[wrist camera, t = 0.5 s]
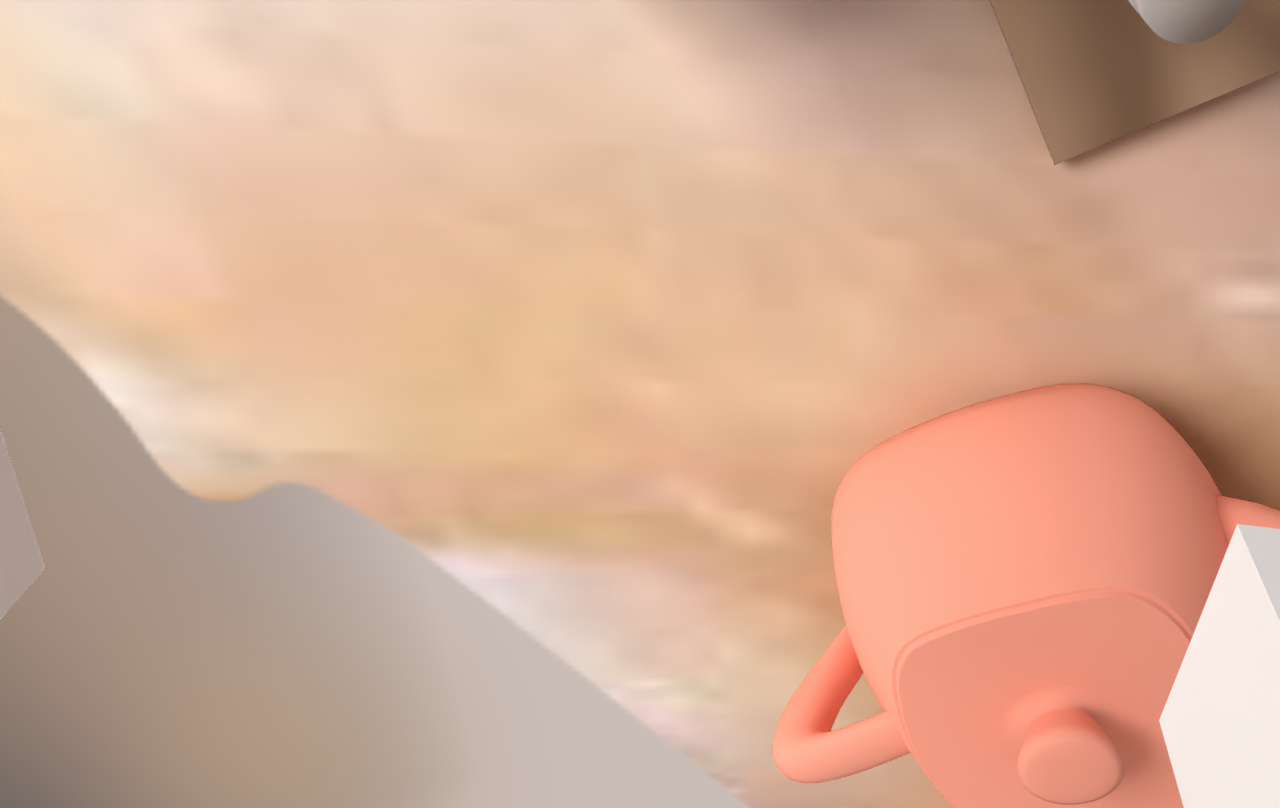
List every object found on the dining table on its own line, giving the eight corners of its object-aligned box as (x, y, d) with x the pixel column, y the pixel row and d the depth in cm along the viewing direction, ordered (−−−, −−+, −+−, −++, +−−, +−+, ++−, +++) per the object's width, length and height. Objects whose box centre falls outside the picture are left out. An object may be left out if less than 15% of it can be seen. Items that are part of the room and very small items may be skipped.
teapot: (1381, 567, 42) (1551, 858, 31) (850, 694, 49) (849, 965, 39) (1298, 250, 36) (1472, 479, 26) (713, 446, 43) (670, 686, 33)
